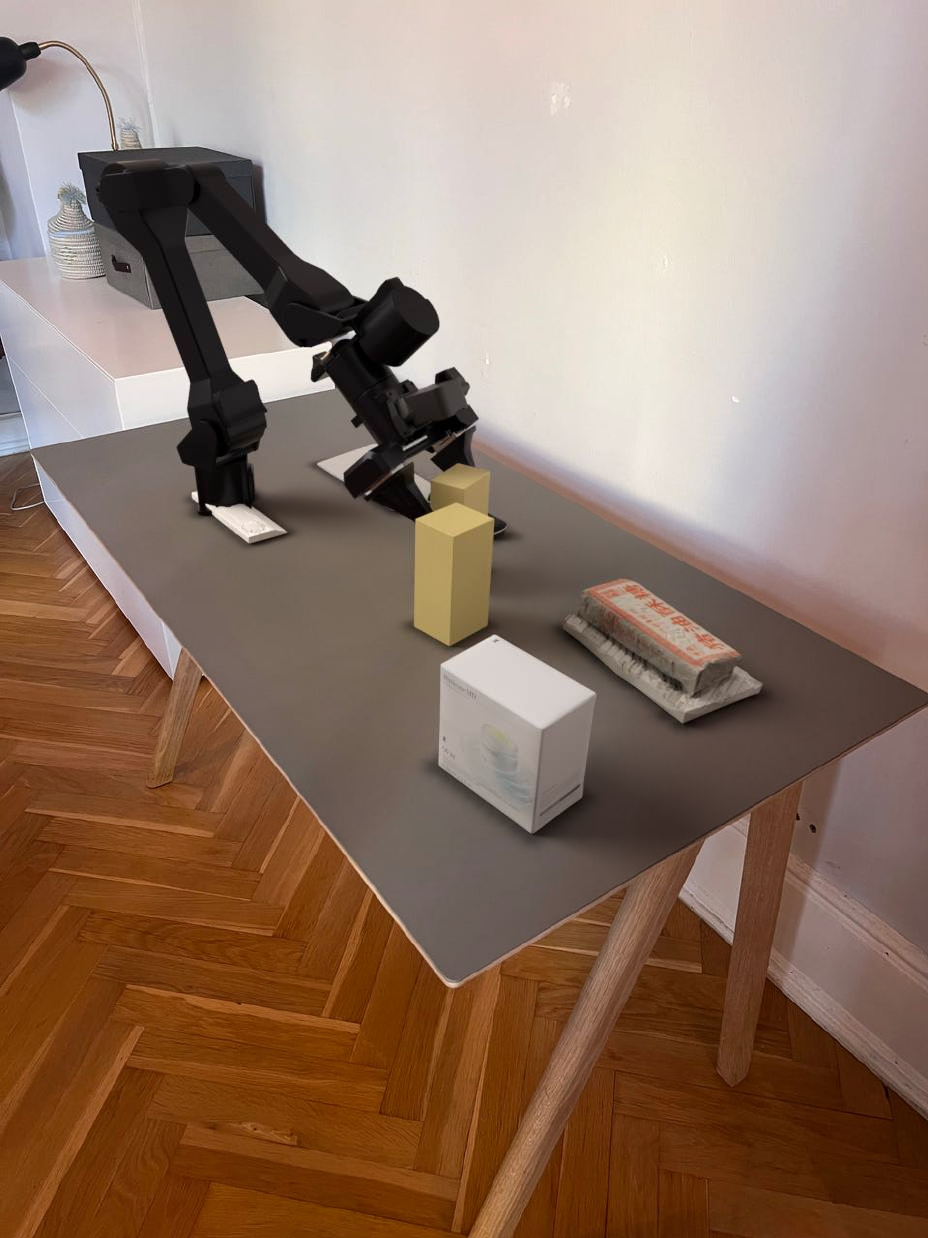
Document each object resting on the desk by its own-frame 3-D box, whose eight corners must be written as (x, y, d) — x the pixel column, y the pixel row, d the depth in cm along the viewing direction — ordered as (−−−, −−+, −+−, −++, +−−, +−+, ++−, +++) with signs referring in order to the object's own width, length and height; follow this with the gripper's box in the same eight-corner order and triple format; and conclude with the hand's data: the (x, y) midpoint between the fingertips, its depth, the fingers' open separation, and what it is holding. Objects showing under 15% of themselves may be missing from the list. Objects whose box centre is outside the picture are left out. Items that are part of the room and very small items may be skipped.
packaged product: (563, 588, 90) (639, 566, 94) (558, 630, 92) (633, 606, 97) (691, 683, 77) (773, 651, 82) (682, 728, 79) (761, 695, 84)
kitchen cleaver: (315, 458, 125) (376, 436, 130) (317, 469, 126) (377, 447, 131) (451, 546, 105) (518, 517, 109) (452, 559, 106) (518, 529, 110)
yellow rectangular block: (428, 581, 99) (430, 479, 93) (453, 561, 104) (457, 462, 97) (459, 592, 98) (464, 489, 92) (484, 571, 102) (490, 471, 96)
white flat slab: (229, 489, 118) (228, 482, 117) (287, 534, 108) (286, 525, 107) (192, 498, 115) (191, 490, 114) (248, 544, 105) (247, 535, 104)
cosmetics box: (434, 768, 74) (437, 661, 68) (489, 734, 78) (496, 631, 72) (530, 838, 68) (542, 727, 62) (585, 797, 71) (601, 690, 66)
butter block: (413, 626, 92) (415, 518, 85) (452, 607, 95) (456, 501, 89) (449, 646, 89) (453, 536, 82) (487, 625, 92) (494, 518, 86)
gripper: (366, 369, 83) (466, 509, 84) (467, 327, 97) (551, 448, 98) (301, 433, 90) (394, 561, 92) (404, 385, 104) (483, 497, 106)
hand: (460, 514), depth 97 cm, fingers open, 9 cm apart
